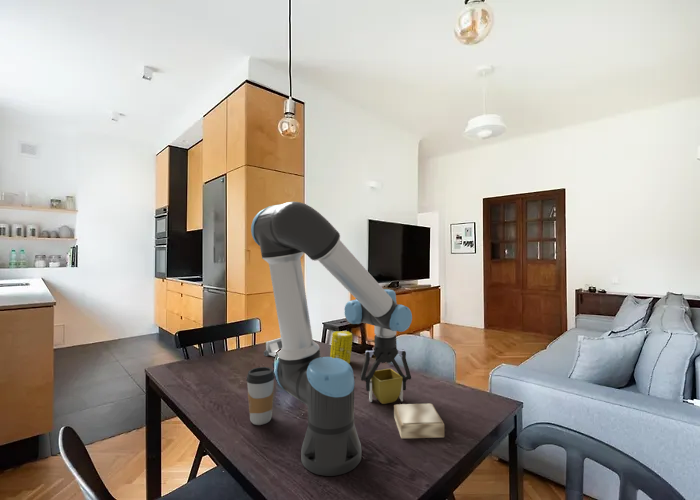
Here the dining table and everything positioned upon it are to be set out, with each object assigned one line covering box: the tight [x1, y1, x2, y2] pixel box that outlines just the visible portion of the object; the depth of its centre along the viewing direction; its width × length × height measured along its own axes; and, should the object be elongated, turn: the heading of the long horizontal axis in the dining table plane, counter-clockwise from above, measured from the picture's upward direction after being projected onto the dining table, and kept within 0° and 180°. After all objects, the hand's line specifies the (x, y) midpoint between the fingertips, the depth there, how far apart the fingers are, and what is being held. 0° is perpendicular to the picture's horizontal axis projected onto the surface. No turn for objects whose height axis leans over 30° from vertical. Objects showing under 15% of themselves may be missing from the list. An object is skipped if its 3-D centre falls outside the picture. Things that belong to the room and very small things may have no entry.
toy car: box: [263, 337, 282, 358], centre depth 164 cm, size 18×10×12 cm
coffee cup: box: [246, 366, 275, 426], centre depth 103 cm, size 8×8×15 cm
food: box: [329, 330, 354, 365], centre depth 153 cm, size 15×12×10 cm
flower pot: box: [371, 368, 403, 405], centre depth 115 cm, size 9×9×9 cm
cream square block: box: [393, 403, 445, 439], centre depth 99 cm, size 12×12×4 cm
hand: (385, 399), depth 115 cm, fingers closed on flower pot, 10 cm apart
